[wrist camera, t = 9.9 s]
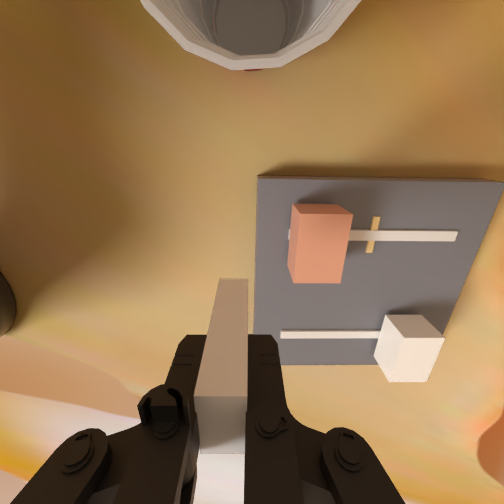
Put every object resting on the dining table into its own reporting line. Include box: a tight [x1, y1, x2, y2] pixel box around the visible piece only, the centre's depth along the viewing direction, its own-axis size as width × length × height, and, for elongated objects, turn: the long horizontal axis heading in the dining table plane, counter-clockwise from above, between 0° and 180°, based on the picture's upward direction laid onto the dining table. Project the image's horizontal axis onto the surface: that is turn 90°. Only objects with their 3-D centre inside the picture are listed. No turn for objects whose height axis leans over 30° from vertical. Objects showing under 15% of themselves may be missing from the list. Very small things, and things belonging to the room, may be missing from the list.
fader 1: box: [287, 204, 353, 283], centre depth 21 cm, size 4×6×4 cm, turn 179°
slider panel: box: [253, 175, 504, 365], centre depth 27 cm, size 22×22×3 cm
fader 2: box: [374, 315, 445, 382], centre depth 26 cm, size 4×6×4 cm, turn 179°
